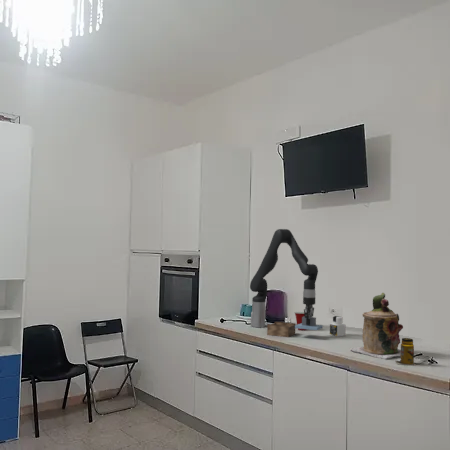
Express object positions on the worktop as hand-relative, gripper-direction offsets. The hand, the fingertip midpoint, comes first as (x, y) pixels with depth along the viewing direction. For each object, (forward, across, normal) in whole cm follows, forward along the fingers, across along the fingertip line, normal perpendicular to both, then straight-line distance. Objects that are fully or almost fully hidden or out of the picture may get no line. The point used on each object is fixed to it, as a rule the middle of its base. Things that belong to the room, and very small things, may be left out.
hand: (308, 324), depth 308 cm
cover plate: (+2, 0, 0) cm, 2 cm away
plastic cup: (+8, -26, -13) cm, 30 cm away
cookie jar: (+8, +22, +47) cm, 53 cm away
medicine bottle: (+8, -19, +13) cm, 25 cm away
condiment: (+8, +41, +62) cm, 75 cm away
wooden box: (+8, 0, -18) cm, 20 cm away
